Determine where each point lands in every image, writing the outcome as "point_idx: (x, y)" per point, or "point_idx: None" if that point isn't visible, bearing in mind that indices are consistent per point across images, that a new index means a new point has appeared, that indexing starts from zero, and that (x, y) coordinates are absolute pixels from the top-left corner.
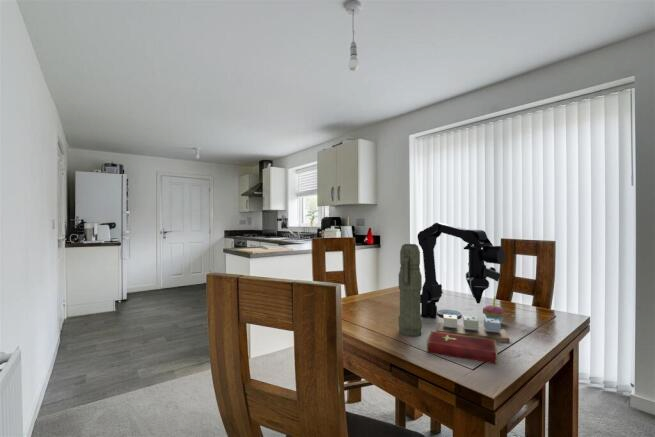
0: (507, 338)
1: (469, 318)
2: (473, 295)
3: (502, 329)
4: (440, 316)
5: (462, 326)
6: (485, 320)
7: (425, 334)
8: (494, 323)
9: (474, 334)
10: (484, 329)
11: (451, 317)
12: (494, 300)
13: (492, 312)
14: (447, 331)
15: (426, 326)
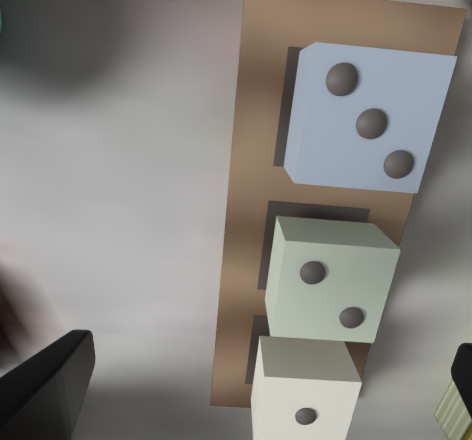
0: (461, 26)
1: (332, 304)
2: (83, 394)
3: (246, 4)
4: (4, 361)
5: (248, 288)
6: (375, 187)
7: (352, 435)
8: (434, 117)
9: (396, 243)
10: (282, 159)
11: (327, 410)
12: None
13: None
14: (360, 371)
15: (230, 428)
